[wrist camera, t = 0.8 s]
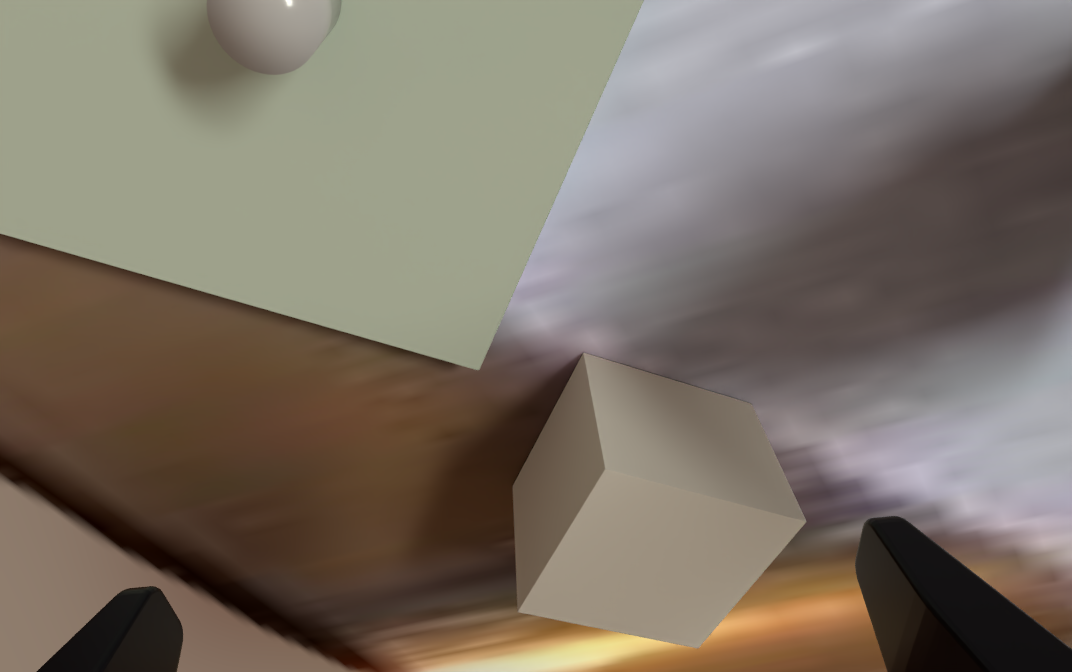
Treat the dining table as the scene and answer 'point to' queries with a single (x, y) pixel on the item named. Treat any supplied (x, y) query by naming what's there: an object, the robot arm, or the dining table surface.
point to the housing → (647, 506)
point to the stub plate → (305, 148)
